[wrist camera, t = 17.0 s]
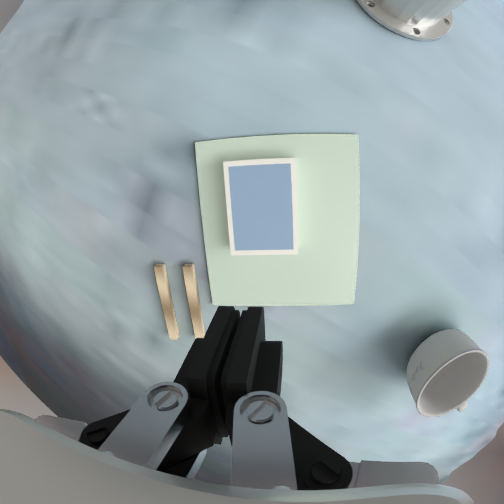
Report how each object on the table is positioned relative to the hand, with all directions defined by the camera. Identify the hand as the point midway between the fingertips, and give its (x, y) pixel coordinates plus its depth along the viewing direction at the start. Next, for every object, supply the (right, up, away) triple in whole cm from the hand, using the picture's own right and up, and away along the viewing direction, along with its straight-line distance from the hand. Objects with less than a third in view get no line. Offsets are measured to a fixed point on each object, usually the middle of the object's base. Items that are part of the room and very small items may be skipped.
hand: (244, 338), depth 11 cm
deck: (+5, +8, +16) cm, 18 cm away
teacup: (+26, -11, +21) cm, 35 cm away
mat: (+3, +6, +18) cm, 19 cm away
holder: (-8, -3, +22) cm, 24 cm away
